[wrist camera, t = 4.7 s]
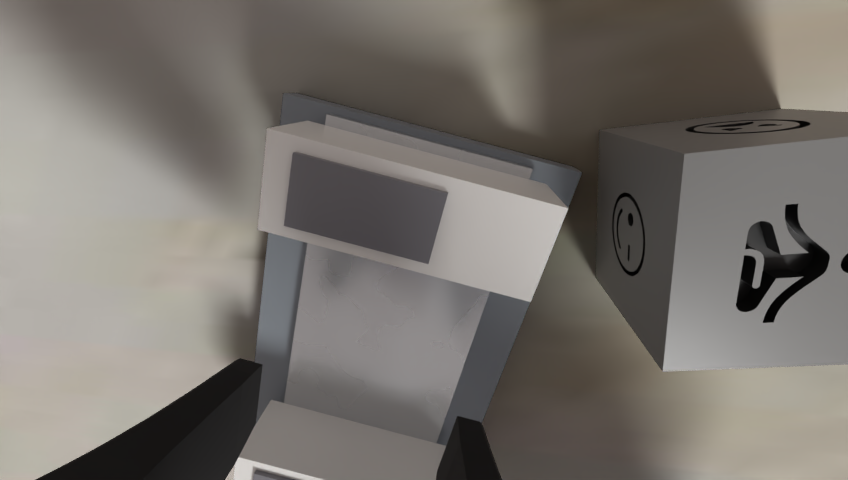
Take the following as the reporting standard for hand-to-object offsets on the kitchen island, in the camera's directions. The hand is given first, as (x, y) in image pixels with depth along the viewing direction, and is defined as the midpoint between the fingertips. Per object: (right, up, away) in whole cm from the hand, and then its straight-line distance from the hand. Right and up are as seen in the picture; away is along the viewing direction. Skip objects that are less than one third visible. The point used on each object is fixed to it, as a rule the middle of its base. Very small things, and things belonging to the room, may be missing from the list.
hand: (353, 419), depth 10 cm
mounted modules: (0, +1, +3) cm, 4 cm away
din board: (0, +2, +5) cm, 5 cm away
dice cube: (+10, +6, +3) cm, 12 cm away
